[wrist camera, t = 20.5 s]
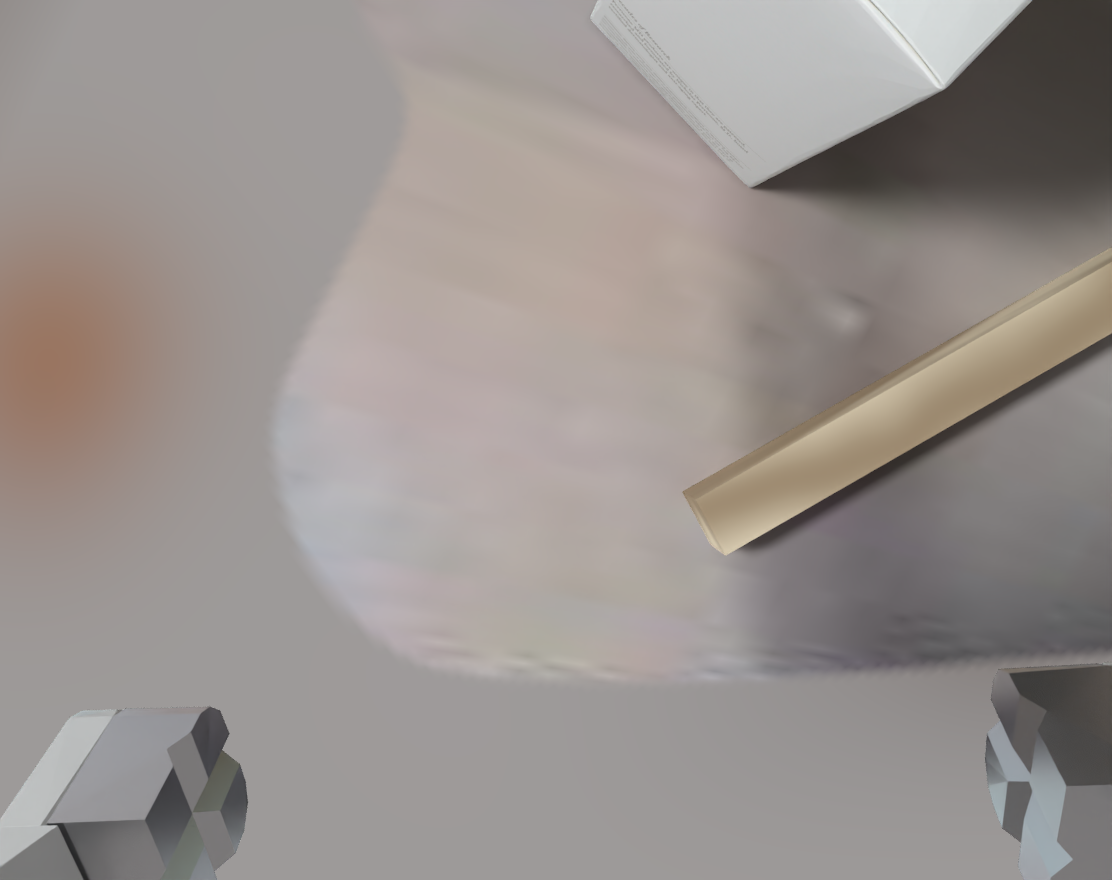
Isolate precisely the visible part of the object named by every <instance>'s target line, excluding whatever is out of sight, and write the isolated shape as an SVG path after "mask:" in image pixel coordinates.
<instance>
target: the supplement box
mask: <svg viewBox="0 0 1112 880" xmlns="http://www.w3.org/2000/svg"><path fill="white" fill-rule="evenodd" d="M1031 1H1032V0H598V1H597V4H596V6H595V8H594V10H593V12H592V14H591V20H592V22H593V23H594V24H595V25H596V26H597V27H598V28H599V29H600V30H601V31H602V32H603V34H604V35H605V36H606V37H607V38H608V39H609V40H610V41H611V42H612V43H613V44H614V45H615V46H616V47H617V48H618V50H619V51H620V52H621V53H622V54H623V55H624V56H625V57H626V58H627V59H628V60H629V61H630V62H631V63H632V64H633V66H634V67H635V68H636V69H637V70H638V71H639V72H640V73H641V74H642V75H643V76H644V77H645V78H646V79H647V80H648V82H649V83H650V84H651V85H652V86H653V87H654V88H655V89H656V90H657V91H658V92H659V93H660V94H661V96H662V97H663V98H664V99H665V100H666V101H667V102H668V103H669V104H670V105H671V106H672V107H673V108H674V109H675V111H676V112H677V113H678V114H679V115H680V116H681V117H682V118H683V119H684V120H685V121H686V122H687V123H688V124H689V126H690V127H691V128H692V129H693V130H694V131H695V132H696V133H697V134H698V135H699V136H700V137H701V138H702V139H703V141H704V142H705V143H706V144H707V145H708V146H709V147H710V148H711V149H712V150H713V151H714V152H715V153H716V154H717V156H718V157H719V158H720V159H721V160H722V161H723V162H724V163H725V164H726V165H727V166H728V167H729V168H730V169H731V170H732V171H733V172H734V173H735V174H736V175H737V176H738V177H739V178H740V179H741V180H742V181H743V182H744V183H745V184H746V185H747V186H748V187H755V186H757V185H759V184H760V183H762V182H764V181H766V180H768V179H770V178H772V177H774V176H776V175H778V174H780V173H782V172H783V171H785V170H787V169H789V168H791V167H793V166H795V165H797V164H799V163H801V162H803V161H805V160H807V159H809V158H811V157H813V156H815V155H817V154H819V153H821V152H823V151H825V150H827V149H829V148H831V147H833V146H834V145H836V144H838V143H840V142H842V141H845V140H847V139H848V138H850V137H852V136H854V135H856V134H858V133H860V132H863V131H865V130H866V129H868V128H870V127H872V126H874V125H876V124H878V123H880V122H882V121H884V120H886V119H888V118H890V117H892V116H894V115H896V114H898V113H900V112H902V111H904V110H906V109H908V108H910V107H912V106H913V105H915V104H917V103H919V102H921V101H924V100H926V99H927V98H929V97H931V96H933V95H935V94H937V93H938V92H941V91H943V90H944V89H946V88H947V87H948V86H949V85H950V84H951V83H952V82H953V81H954V80H955V79H956V78H957V77H958V76H959V75H960V74H961V73H962V72H963V71H964V70H965V69H966V68H967V67H968V66H969V65H970V64H971V63H972V62H973V61H974V60H975V59H976V58H977V57H978V55H979V54H980V53H981V52H982V51H983V50H984V49H985V48H986V47H987V46H988V45H989V44H990V43H991V42H992V41H993V40H994V39H995V38H996V37H997V36H998V35H999V34H1000V33H1001V32H1002V31H1003V30H1004V29H1005V28H1006V27H1007V26H1008V25H1009V24H1010V23H1011V22H1012V21H1013V20H1014V19H1015V18H1016V17H1017V16H1018V15H1019V14H1020V13H1021V12H1022V10H1023V9H1024V8H1025V7H1026V6H1027V5H1028V4H1029V3H1030V2H1031Z"/></svg>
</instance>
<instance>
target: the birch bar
mask: <svg viewBox="0 0 1112 880" xmlns="http://www.w3.org/2000/svg"><path fill="white" fill-rule="evenodd" d="M1111 333H1112V247H1111V248H1109V249H1108V250H1106V251H1104V252H1102V253H1101V254H1099V255H1097V256H1095V257H1094V258H1092V259H1090V260H1088V261H1086V262H1085V263H1083V264H1081V265H1079V266H1078V267H1076V268H1074V269H1072V270H1071V271H1069V272H1067V273H1065V274H1064V275H1062V276H1060V277H1058V278H1057V279H1055V280H1053V281H1051V282H1050V283H1048V284H1046V285H1044V286H1043V287H1041V288H1039V289H1037V290H1036V291H1034V292H1032V293H1030V294H1029V295H1027V296H1025V297H1023V298H1022V299H1020V300H1018V301H1016V302H1015V303H1013V304H1011V305H1009V306H1008V307H1006V308H1004V309H1002V310H1001V311H999V312H997V313H995V314H993V315H992V316H990V317H988V318H986V319H985V320H983V321H981V322H979V323H978V324H976V325H974V326H972V327H971V328H969V329H967V330H965V331H964V332H962V333H960V334H958V335H957V336H955V337H953V338H951V339H950V340H948V341H946V342H944V343H943V344H941V345H939V346H937V347H936V348H934V349H932V350H930V351H929V352H927V353H925V354H923V355H922V356H920V357H918V358H916V359H915V360H913V361H911V362H909V363H907V364H906V365H904V366H902V367H900V368H899V369H897V370H895V371H893V372H892V373H890V374H888V375H886V376H885V377H883V378H881V379H879V380H878V381H876V382H874V383H872V384H871V385H869V386H867V387H865V388H864V389H862V390H860V391H858V392H857V393H855V394H853V395H851V396H850V397H848V398H846V399H844V400H843V401H841V402H839V403H837V404H836V405H834V406H832V407H830V408H829V409H827V410H825V411H823V412H822V413H820V414H818V415H816V416H814V417H813V418H811V419H809V420H807V421H806V422H804V423H802V424H800V425H799V426H797V427H795V428H793V429H792V430H790V431H788V432H786V433H785V434H783V435H781V436H779V437H778V438H776V439H774V440H772V441H771V442H769V443H767V444H765V445H764V446H762V447H760V448H758V449H757V450H755V451H753V452H751V453H750V454H748V455H746V456H744V457H743V458H741V459H739V460H737V461H736V462H734V463H732V464H730V465H729V466H727V467H725V468H723V469H721V470H720V471H718V472H716V473H714V474H713V475H711V476H709V477H707V478H706V479H704V480H702V481H700V482H699V483H697V484H695V485H693V486H692V487H690V488H688V489H686V490H685V491H683V494H684V496H685V498H686V500H687V501H688V503H689V505H690V507H691V509H692V511H693V513H694V514H695V516H696V518H697V520H698V522H699V524H700V526H701V528H702V529H703V531H704V533H705V535H706V537H707V539H708V541H709V542H710V544H711V545H712V546H713V547H714V548H716V549H717V550H719V551H720V552H721V553H723V554H724V555H725V556H726V555H728V554H729V553H731V552H733V551H735V550H736V549H738V548H740V547H742V546H743V545H745V544H747V543H748V542H750V541H752V540H754V539H755V538H757V537H759V536H761V535H762V534H764V533H766V532H768V531H769V530H771V529H773V528H775V527H776V526H778V525H780V524H781V523H783V522H785V521H787V520H788V519H790V518H792V517H794V516H795V515H797V514H799V513H801V512H802V511H804V510H806V509H808V508H809V507H811V506H813V505H814V504H816V503H818V502H820V501H821V500H823V499H825V498H827V497H828V496H830V495H832V494H834V493H835V492H837V491H839V490H840V489H842V488H844V487H846V486H847V485H849V484H851V483H853V482H854V481H856V480H858V479H860V478H861V477H863V476H865V475H867V474H868V473H870V472H872V471H873V470H875V469H877V468H879V467H880V466H882V465H884V464H886V463H887V462H889V461H891V460H893V459H894V458H896V457H898V456H900V455H901V454H903V453H905V452H906V451H908V450H910V449H912V448H913V447H915V446H917V445H919V444H920V443H922V442H924V441H926V440H927V439H929V438H931V437H933V436H934V435H936V434H938V433H939V432H941V431H943V430H945V429H946V428H948V427H950V426H952V425H953V424H955V423H957V422H959V421H960V420H962V419H964V418H966V417H967V416H969V415H971V414H972V413H974V412H976V411H978V410H979V409H981V408H983V407H985V406H986V405H988V404H990V403H992V402H993V401H995V400H997V399H998V398H1000V397H1002V396H1004V395H1005V394H1007V393H1009V392H1011V391H1012V390H1014V389H1016V388H1018V387H1019V386H1021V385H1023V384H1025V383H1026V382H1028V381H1030V380H1031V379H1033V378H1035V377H1037V376H1038V375H1040V374H1042V373H1044V372H1045V371H1047V370H1049V369H1051V368H1052V367H1054V366H1056V365H1058V364H1059V363H1061V362H1063V361H1064V360H1066V359H1068V358H1070V357H1071V356H1073V355H1075V354H1077V353H1078V352H1080V351H1082V350H1084V349H1085V348H1087V347H1089V346H1091V345H1092V344H1094V343H1096V342H1097V341H1099V340H1101V339H1103V338H1104V337H1106V336H1108V335H1110V334H1111Z"/></svg>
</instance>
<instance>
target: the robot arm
mask: <svg viewBox="0 0 1112 880" xmlns="http://www.w3.org/2000/svg"><path fill="white" fill-rule="evenodd" d="M991 701H992V703H993V705H994V708H995V710H996V712H997V714H998V717H999V719H1000V721H999V722H998V723H997V724H996V725H995V726H994V727H993V728H992V729H991V730H990V731H989V732H988V733H987V740H986V753H985V763H986V771H987V781H988V788H989V791H990V795H991V799H992V802H993V806H994V809H995V811H996V814H997V816H998V819H999V822H1000V824H1001V826H1002V829H1004V830H1005V831H1006V832H1008V833H1009V834H1010V835H1012V836H1013V837H1014V838H1016V839H1017V840H1018V841H1020V842H1021V846H1020V854H1019V861H1018V868H1019V870H1020V873H1021V875H1022V877H1023V880H1112V662H1104V663H1102V664H1080V665H1062V666H1043V667H1025V668H1007V669H998V671H997V673H996V675H995V678H994V680H993V687H992V694H991ZM228 735H229V731H228V729H227V726H226V724H225V721H224V719H223V716H222V714H221V711H220V710H217V709H215V708H212V707H172V708H130V709H124V710H83V711H81V712H79V713H77V714H76V715H74V716H72V717H71V718H69V719H68V721H67V722H66V723H65V725H64V726H63V728H62V729H61V731H60V732H59V734H58V735H57V736H56V738H55V740H54V741H53V742H52V744H51V745H50V747H49V748H48V750H47V751H46V753H45V754H44V756H43V757H42V759H41V760H40V762H39V763H38V764H37V766H36V768H35V769H34V770H33V772H32V773H31V775H30V776H29V778H28V779H27V781H26V782H25V783H24V785H23V786H22V788H21V789H20V791H19V792H18V794H17V795H16V797H15V798H14V800H13V801H12V803H11V804H10V805H9V807H8V808H7V810H6V811H5V813H4V815H3V816H2V817H1V819H0V880H217V878H216V875H215V872H214V871H215V870H217V869H218V868H219V867H220V866H221V865H222V864H224V863H225V862H226V861H227V860H228V859H229V858H231V857H232V856H233V855H234V854H235V853H236V851H237V848H238V845H239V843H240V840H241V837H242V834H243V832H244V827H245V821H246V813H247V805H248V799H247V790H246V781H245V778H244V775H243V772H242V769H241V766H240V764H239V763H238V762H237V761H235V760H234V759H233V758H231V757H230V756H229V755H228V754H226V753H225V752H224V751H223V750H222V749H223V747H224V744H225V742H226V740H227V738H228Z"/></svg>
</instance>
